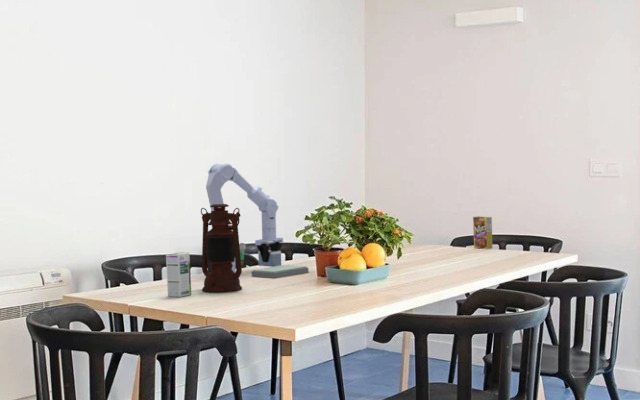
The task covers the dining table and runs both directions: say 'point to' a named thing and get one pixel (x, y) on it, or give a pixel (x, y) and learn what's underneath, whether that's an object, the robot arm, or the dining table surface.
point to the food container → (241, 254)
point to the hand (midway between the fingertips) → (269, 261)
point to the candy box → (482, 232)
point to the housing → (271, 259)
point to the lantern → (221, 250)
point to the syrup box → (178, 274)
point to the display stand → (280, 271)
